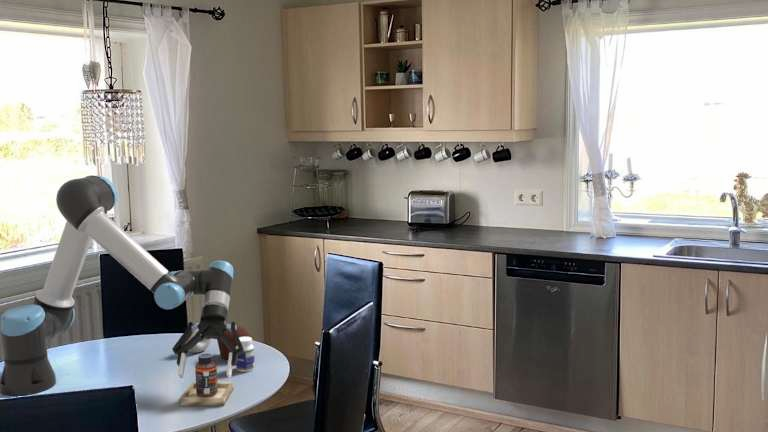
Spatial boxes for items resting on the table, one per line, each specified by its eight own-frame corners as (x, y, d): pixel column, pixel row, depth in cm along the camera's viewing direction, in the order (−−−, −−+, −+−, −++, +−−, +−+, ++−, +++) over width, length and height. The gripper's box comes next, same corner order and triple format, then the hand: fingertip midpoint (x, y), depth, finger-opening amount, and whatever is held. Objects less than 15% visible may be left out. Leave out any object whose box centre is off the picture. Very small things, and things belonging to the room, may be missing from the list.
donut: (207, 347, 259) (206, 318, 257) (214, 348, 257) (213, 320, 255) (184, 355, 251) (183, 326, 249) (191, 357, 249) (190, 327, 247)
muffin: (254, 360, 244) (252, 330, 243) (219, 364, 241) (217, 334, 240) (249, 349, 256) (248, 321, 254) (216, 353, 252) (215, 324, 251)
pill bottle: (232, 369, 236) (231, 338, 235) (247, 364, 240) (246, 334, 239) (243, 373, 232) (242, 342, 231) (258, 368, 237) (257, 338, 235)
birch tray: (180, 405, 208) (180, 398, 208) (192, 389, 220) (192, 382, 220) (223, 405, 208) (223, 398, 207) (233, 389, 220) (233, 382, 219)
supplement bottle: (212, 398, 210) (210, 359, 209) (192, 397, 211) (190, 358, 210) (221, 390, 216) (219, 352, 214) (201, 389, 217) (200, 351, 216)
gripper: (259, 315, 226) (251, 381, 213) (176, 315, 226) (163, 381, 214) (255, 302, 220) (246, 370, 207) (170, 303, 220) (156, 370, 208)
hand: (204, 376), depth 210 cm, fingers open, 13 cm apart
